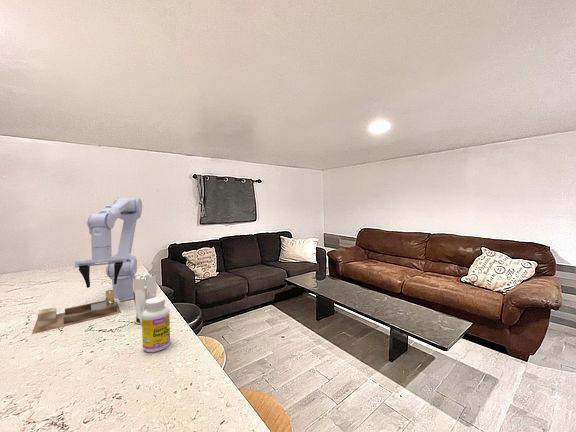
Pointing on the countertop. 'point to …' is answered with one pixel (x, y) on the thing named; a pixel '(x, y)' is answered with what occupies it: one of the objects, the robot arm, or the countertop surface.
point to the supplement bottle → (155, 325)
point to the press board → (78, 316)
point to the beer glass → (143, 293)
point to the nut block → (47, 317)
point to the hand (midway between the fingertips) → (102, 285)
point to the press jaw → (108, 303)
